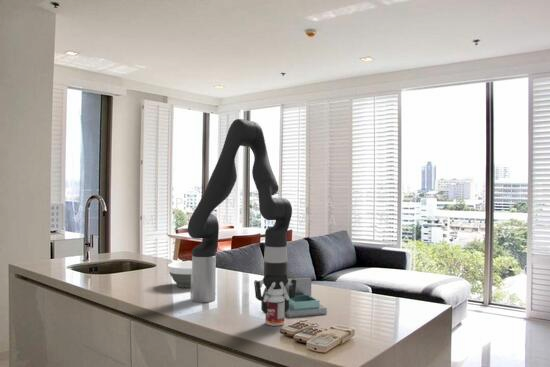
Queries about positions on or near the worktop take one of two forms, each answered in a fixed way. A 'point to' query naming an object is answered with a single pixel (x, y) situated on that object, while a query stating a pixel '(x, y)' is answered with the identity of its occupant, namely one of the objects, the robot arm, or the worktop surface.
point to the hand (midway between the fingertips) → (275, 312)
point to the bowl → (181, 273)
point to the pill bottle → (275, 308)
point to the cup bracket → (303, 300)
